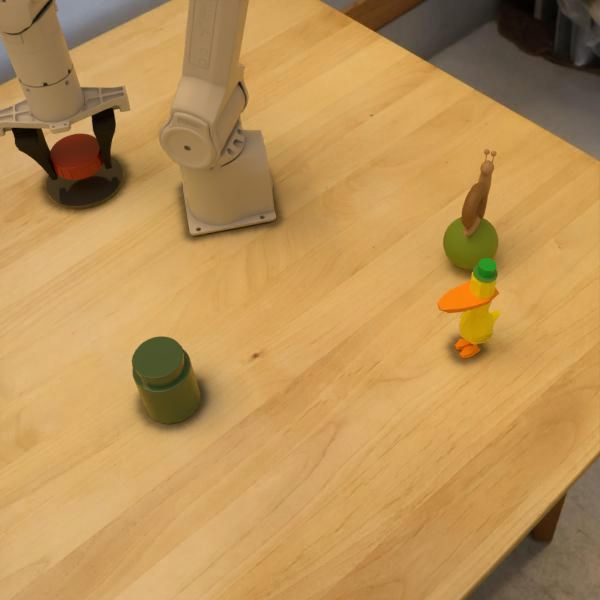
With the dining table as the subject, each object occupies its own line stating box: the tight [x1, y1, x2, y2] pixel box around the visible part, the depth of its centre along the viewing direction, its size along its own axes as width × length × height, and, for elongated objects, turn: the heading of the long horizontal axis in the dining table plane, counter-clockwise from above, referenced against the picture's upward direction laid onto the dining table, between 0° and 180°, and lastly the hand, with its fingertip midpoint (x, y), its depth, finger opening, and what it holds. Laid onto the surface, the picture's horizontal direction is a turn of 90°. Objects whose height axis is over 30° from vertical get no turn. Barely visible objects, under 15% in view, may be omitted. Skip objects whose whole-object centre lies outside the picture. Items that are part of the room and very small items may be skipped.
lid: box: [50, 133, 104, 180], centre depth 96 cm, size 6×6×2 cm
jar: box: [131, 335, 201, 425], centre depth 77 cm, size 5×5×7 cm
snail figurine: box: [442, 148, 499, 270], centre depth 83 cm, size 5×6×12 cm
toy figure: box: [436, 258, 503, 359], centre depth 76 cm, size 7×4×12 cm, turn 112°
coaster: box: [45, 155, 125, 210], centre depth 99 cm, size 9×9×1 cm
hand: (81, 168), depth 97 cm, fingers closed on lid, 5 cm apart
